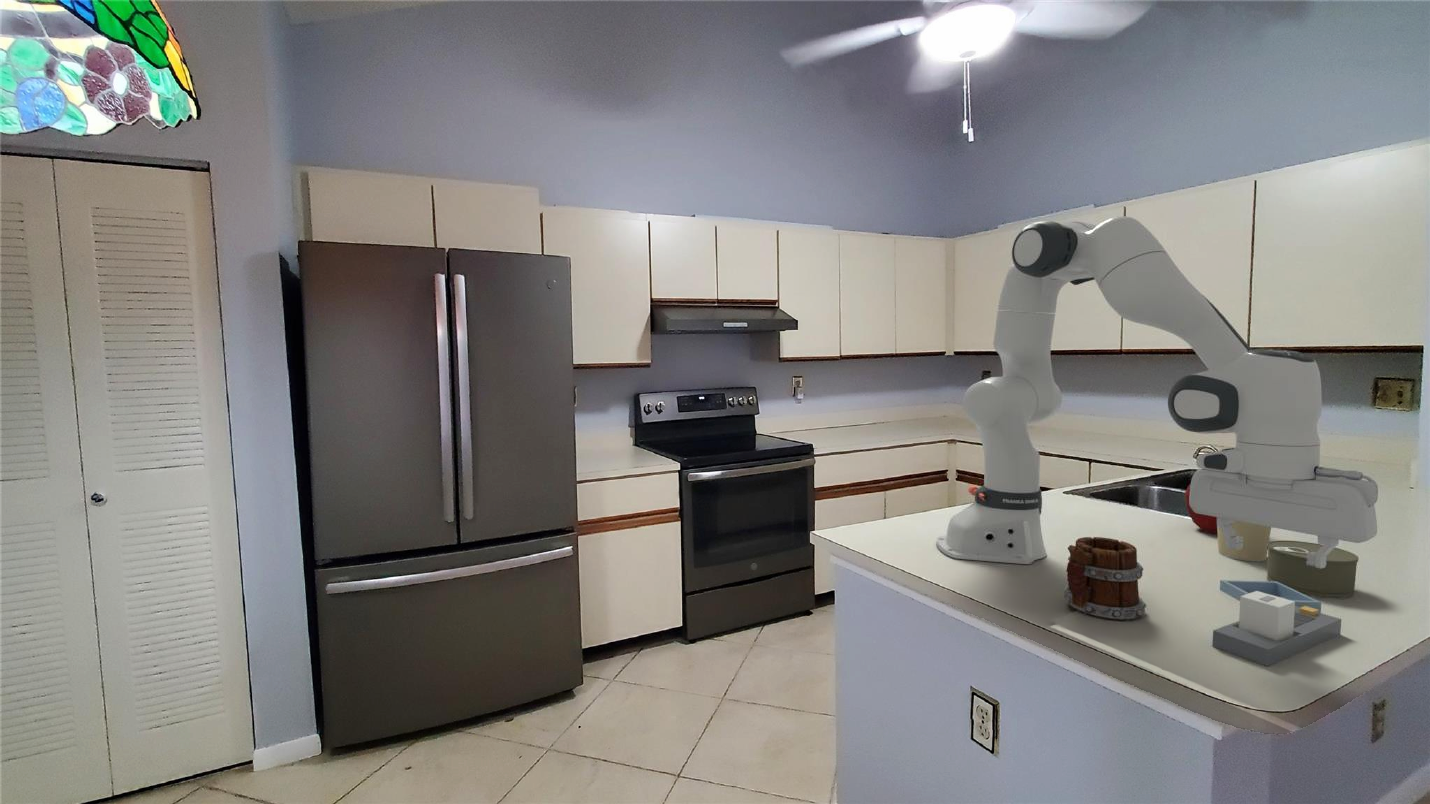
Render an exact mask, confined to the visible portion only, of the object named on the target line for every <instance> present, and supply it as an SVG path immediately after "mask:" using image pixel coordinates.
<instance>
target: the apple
mask: <svg viewBox="0 0 1430 804" xmlns="http://www.w3.org/2000/svg"><path fill="white" fill-rule="evenodd" d="M1190 486H1191V483H1190V484H1189V485H1188V486H1187V488H1186V490H1185V491H1184V496H1185V497H1184V500H1185V507H1186V509H1187V512H1188V514H1189V516H1190V518H1191V520H1192V523H1194V525H1196V526H1197V527H1198V528H1199V529H1200V530H1201V531H1203V532H1205V533H1209V534H1218V532H1217V517H1214V516H1209V515H1204V514H1198V513H1195V512H1194V511H1193V510H1192V508H1191V507H1190V505H1189V495H1190Z"/></svg>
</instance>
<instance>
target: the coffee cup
mask: <svg viewBox="0 0 1430 804" xmlns="http://www.w3.org/2000/svg"><path fill="white" fill-rule="evenodd" d="M1231 526H1232V528H1233V529H1234V531H1235V533H1236V535H1237V536H1240V537H1243V542H1242V544H1243V548H1242V549H1239V550H1236V549H1231V548H1227V547H1226V546H1225V536H1224V535H1223V533H1222V531H1221V530H1220V528H1219V527H1218V525H1217V532H1218V533H1217V548H1218V549H1217V550H1218V553H1219V555H1221V556H1223V557H1225V558H1229V559H1233V560H1239V561H1244V562H1264V561H1266V560H1267V557H1268V547H1267V544H1268V543H1269V542H1270V538H1271V530H1272V527H1268V526H1263V525H1257V524H1252V523H1246V522H1241V521H1236V520H1235V524H1231Z"/></svg>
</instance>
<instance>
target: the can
mask: <svg viewBox="0 0 1430 804" xmlns="http://www.w3.org/2000/svg"><path fill="white" fill-rule="evenodd" d="M1322 546H1323V544H1318V543H1316V542H1308V541H1298V540H1273V541H1269V543H1268V544H1267V547H1268V551H1267V568H1266V569H1267V570H1266V571H1267V575H1266V581H1277V582H1279V583H1281V584H1283V585H1285V586H1287V587H1290V588H1292V589H1294V590H1296V591H1298V592H1300V593H1302V594H1304V595H1307V596H1313V597H1318V598H1325V599H1326V598H1327V599H1350V598H1352V597H1354V596H1355V587H1356V577H1357V576H1356V574H1357V565H1358V561H1359V557H1358V555H1356V554H1354V553H1353V552H1350V551H1348V550H1346V549H1342V548H1338V547H1335V548H1334V549H1333V550H1332V551H1331V552H1330V553H1329V554H1328V555H1327V557H1326V566H1325V568H1322V569H1320V568H1316V567H1312V566H1307V565H1306V561H1307V558H1306V555H1307V553H1310V552H1317V551H1318V550H1319V549H1320V548H1321V547H1322ZM1349 597H1350V598H1349Z"/></svg>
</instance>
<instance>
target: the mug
mask: <svg viewBox="0 0 1430 804" xmlns="http://www.w3.org/2000/svg"><path fill="white" fill-rule="evenodd" d="M1067 551H1068V552H1069V556H1068V558H1067V559H1068V560H1067V561H1068V562H1067V565H1066V573H1067V574H1066V578H1067V583H1068V584H1067V586H1068V587H1067V588H1065V589H1064V590H1063V593H1064V599H1065V602H1066V603H1067V606H1068V607H1067V608H1068V609H1069V610H1070V611H1072V613H1075V612H1080V613H1082V614H1086V615H1087V616H1090V617H1094V618H1097V619H1103V620H1108V621H1119V622H1120V621H1125V622H1126V621H1134V620H1137V619H1139V618H1140V617H1143V616H1144V614H1145V612H1146V607H1147V604H1146V602H1145V601H1143V599H1142V598H1141V597H1140V595H1139V594H1140V593H1139V580H1140V579H1142V577H1143V571H1144V567H1143V566H1142V564H1140V563H1139V562H1138V557H1137V555H1138V551H1137V548H1136V546H1134V545H1133V544H1131V543H1129V542H1127V541H1123V540H1122V541H1119V539H1114V538H1110V537H1103V536H1102V537H1101V536H1093V537H1091V536H1085V537H1080V538H1078V539H1076V540H1075V545H1072V544H1070V545H1069V546H1068V547H1067Z"/></svg>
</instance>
